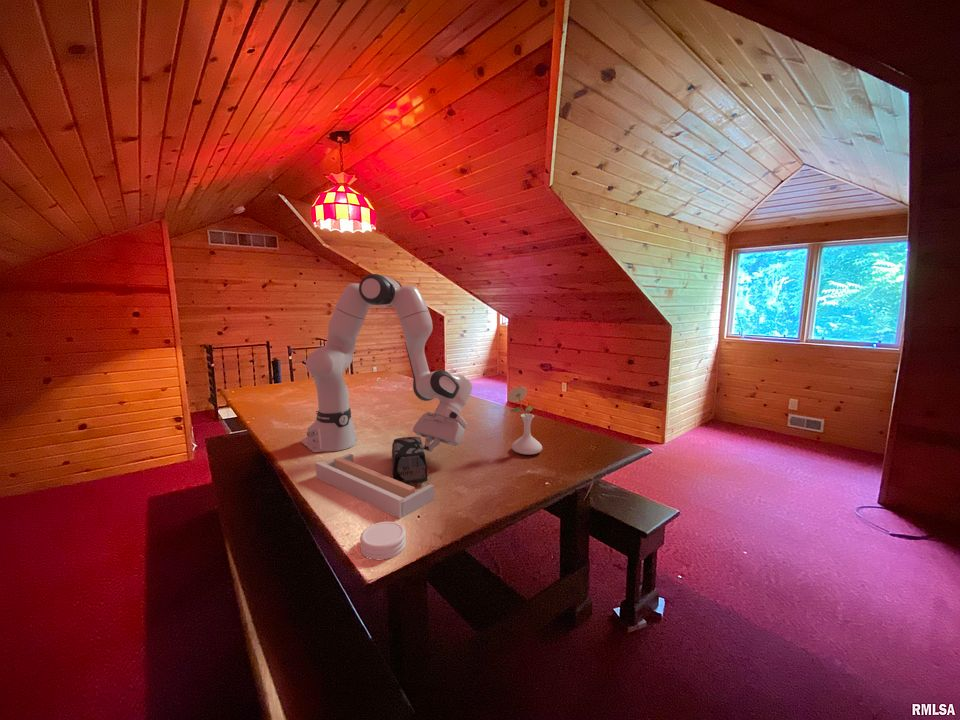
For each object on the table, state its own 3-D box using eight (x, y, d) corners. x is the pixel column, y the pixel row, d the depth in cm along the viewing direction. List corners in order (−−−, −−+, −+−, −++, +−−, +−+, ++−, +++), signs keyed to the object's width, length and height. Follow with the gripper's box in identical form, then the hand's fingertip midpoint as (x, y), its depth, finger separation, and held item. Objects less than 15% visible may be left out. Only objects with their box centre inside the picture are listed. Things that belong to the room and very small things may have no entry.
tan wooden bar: (335, 473, 124) (334, 459, 124) (340, 471, 126) (339, 457, 125) (409, 507, 104) (409, 490, 103) (415, 504, 105) (414, 487, 104)
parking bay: (316, 477, 121) (315, 462, 121) (350, 464, 131) (350, 450, 130) (400, 518, 98) (399, 500, 97) (434, 499, 108) (433, 482, 107)
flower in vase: (539, 445, 149) (540, 382, 145) (545, 457, 137) (546, 388, 134) (505, 446, 148) (506, 382, 145) (508, 457, 137) (509, 389, 133)
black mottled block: (421, 455, 140) (421, 428, 138) (429, 486, 116) (428, 454, 115) (391, 457, 137) (390, 430, 136) (392, 490, 114) (391, 457, 112)
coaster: (351, 548, 87) (351, 534, 86) (388, 529, 94) (388, 515, 94) (377, 568, 80) (376, 552, 80) (415, 545, 88) (414, 531, 87)
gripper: (420, 407, 143) (401, 439, 137) (463, 416, 131) (444, 452, 125) (429, 415, 147) (411, 447, 141) (471, 425, 135) (453, 461, 129)
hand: (427, 450), depth 133 cm, fingers closed
